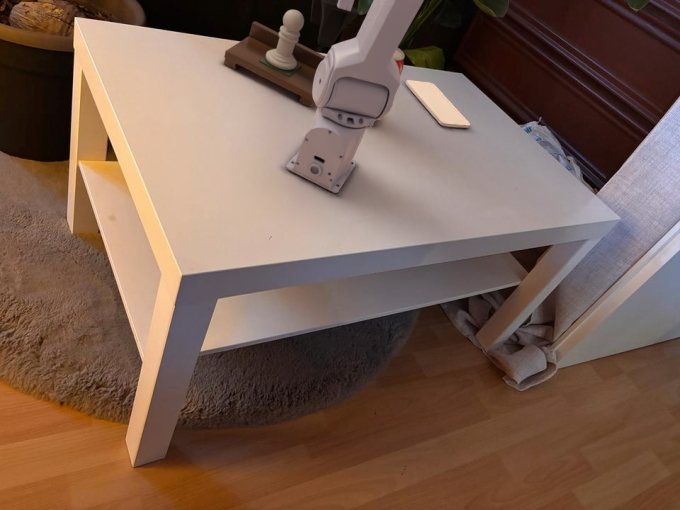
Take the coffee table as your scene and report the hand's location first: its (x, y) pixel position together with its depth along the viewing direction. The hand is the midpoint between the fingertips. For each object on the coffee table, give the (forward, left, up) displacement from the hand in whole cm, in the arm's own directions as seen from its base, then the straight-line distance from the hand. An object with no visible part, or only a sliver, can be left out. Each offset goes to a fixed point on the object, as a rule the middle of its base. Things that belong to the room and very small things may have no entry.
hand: (320, 34), depth 91 cm
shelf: (-1, +4, -9) cm, 10 cm away
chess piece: (-2, +5, -7) cm, 8 cm away
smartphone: (+18, -22, -9) cm, 30 cm away
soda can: (0, -11, -9) cm, 14 cm away
